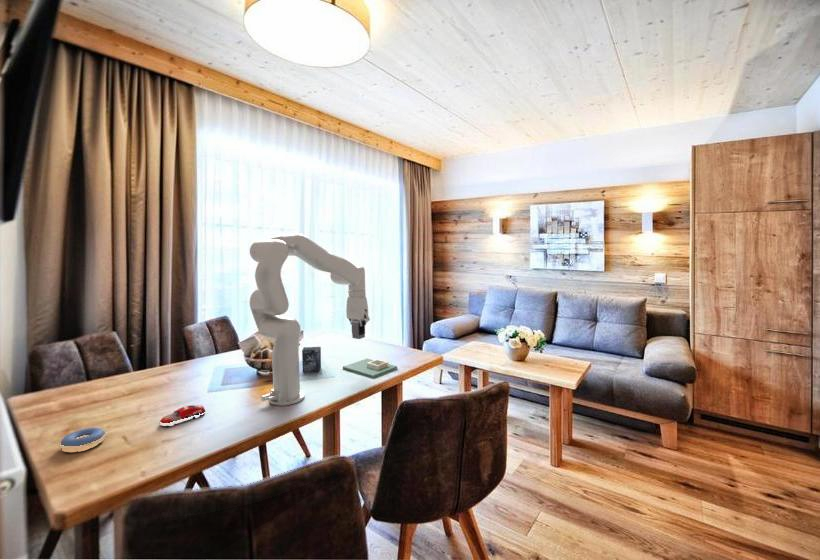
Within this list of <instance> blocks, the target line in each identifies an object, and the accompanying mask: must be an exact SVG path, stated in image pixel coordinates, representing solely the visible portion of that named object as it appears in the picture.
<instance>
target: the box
mask: <svg viewBox="0 0 820 560" xmlns="http://www.w3.org/2000/svg"><path fill="white" fill-rule="evenodd" d="M321 348H322V347H321V346H310V347H309V346H305V347H304V346H303V348H302V351H301V359H302V360H301V361H302V373H316V372H317V373H320V372H321V370H322V354H321V353H322V349H321Z"/></svg>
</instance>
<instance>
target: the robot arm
mask: <svg viewBox="0 0 820 560" xmlns="http://www.w3.org/2000/svg"><path fill="white" fill-rule="evenodd" d="M249 255H250V258H251V259H252V260H253V261H254V262H256V263H257V265H256V268H255V273H254V279H255V283H256V287H257V289H255V290H254V291H253V292H252V293H251V295H250V297H249V308H250V311H251V314H252V317H253V320H254V322H255V325H256V328H257V330H258V332H259V334H260V335H261V336H262V337H264V338H266V339H269V340H273V341H274V344H273V346H272V347H273V348H272V351H271V361H272V365H271V366H272V385H273V386H272V388H271V389H270V392H269V393H268V394H263V395H261V396H260V400H261V401H262V402H265V401H267V400H268V402H269V403H270V404H271V405H274V406H282V407H283V406H290V405H294V404H297V403H299V402H301V401H303V400H304V399H305V392H303V391H302V390H301V386H300V385H301V383H300V380H301V379H300V355H299V354H300V352H299V350H300V349H299V346H300V337H301V332H302V331H301V325H300V323H299V322H298V320H297V319H295V318H294V317H291V316H288V315H284V314H285V313H287V311H288V310H289V307H290V303H289V300H288V295H287V293H286V289H285V287H284V283H283V281H282V276H281V275H282V274H281V273H282V268H283V265H284V264H285V262H286V261H287V259H288V257H289V256H290V257H291V256H293V257H296V258H298V259H300V260H302V261H303V262H304V263H306V264H307V265H309V266H311V268H313V269H315V270H318V271H320V272H325V273H328V274H329V275H330V276H329V277H330V279H331V281H332V282H333V283H334V284H336V285H345V286H348V290H347V293H348V296H347V298H346V299H347V300H346V309H345V311H346V318H347V319H348V320H349V323H350V326H352V320H359V323H360V326H359V335H362V334H365V335H366V326H367V324H368V322H370V320H371V318H370V316H369V305H368V299H367V297H366V296H367V295H366V294H367V293H366V270H365V267H364V266H360V265H358V266H357V265H354V264H353V263H352V262H351V261H349V260H347V259H345V258H343V257H340V256H338V255H336V254H334V253H332V252H330V251H328V250H326V249H325V248H323V247H322V246H320V245H319V244H318V243H316V242H315V241H313V239H311V238H310V237H308V236H307V235H306V234H305V235H304V234H303V233H286V234H282V235H275V236H273V237H268V238H263V239H258V240H256V241H254V242H253V243H252V244H251V245H250V247H249ZM362 320H363V322H362Z"/></svg>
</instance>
